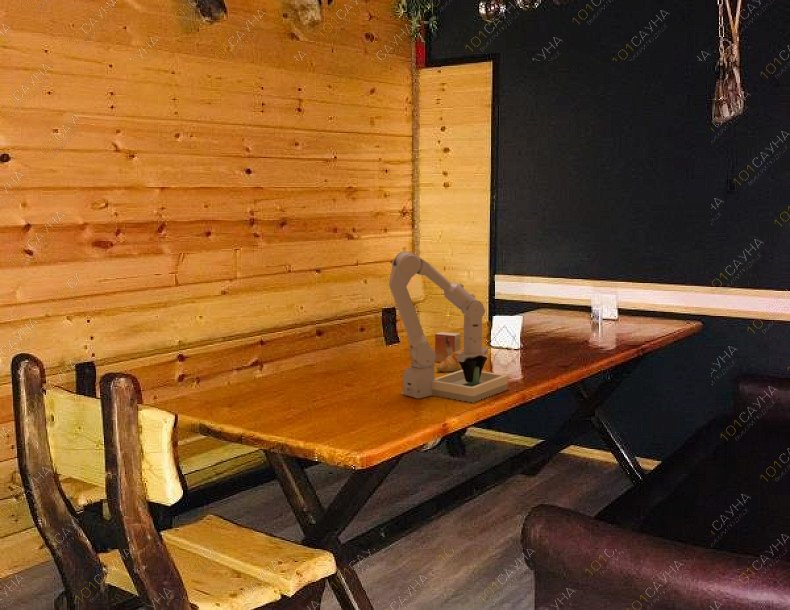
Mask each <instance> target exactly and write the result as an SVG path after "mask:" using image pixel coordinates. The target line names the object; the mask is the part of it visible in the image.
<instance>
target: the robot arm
mask: <svg viewBox="0 0 790 610" xmlns="http://www.w3.org/2000/svg"><path fill="white" fill-rule="evenodd" d="M416 274H417V275H419V276H425V277H426V278H427V279H429V280H430V281H431V282H433V283H434V284H435V285H436V286H438V288H440V289H442V291H443V292H444V293H443V294H444V298H445V299H447V300H448V301H449V302H451V304H452V305H454V306H455V307H456V308H457V309H459V310H460V312H461V313H462V314H463V350H464V351H463V352H462V353H460V354H459V355H457V361H459V364H460V365H461V367H462V370H463V373H464V376H465V380H466V382H472V381H473V374H474V368H475V366H478V367H479V379H480V376H481V372H482V371H483V369H484V365H485V363H486V362H487V360H488V357H487V356H485V355H488V354H489V348H488V347H483V317H484V315H485V313H486V309H485V307H484V304H483V303H482V302H481V301H479V300H478V299H476V298H475V297H476V295H475V294H474V293H470V292H469V291H468V290H466V289H465V288H464V287H465V286H464V284H462V283H458V282H451V281H449V280H448V279H447V278H446V277H445V276H444V275H443V274H442V273H441V272H440V271H438V270H437V268H435V267H434V266H433V265H431V263H429V262H428V261H426V260H424V259H423V258H421V257H419V256H418V255H417V254H415V253H411V252H409V251H407V250H405V251H404V250H403V251H400V252H399V253H398V254H396V256H395V257H394V259H393V260H392V262H391V271H390V277H389V281H388V287H389V289H390V292H391V294H392V298H393V300H394V302H395V305H396V308H397V310H398V313H399V316H400V318H401V321H402V324H403V327H404V329H405V332H406V335H407V338H408V343H409V356H410V357H411V359H412V361H411V363H410V366H409V367H407V368H406V369H404V371H403V374H402V391H401V394H402V395H403V396H408V397H412V398H415V399H423V398H427V397H431V396H433V395H434V394H432V381H434V380H435V378H436V377H435V373H436V372H435V368H436V367H435V363H436V362H435V360H436V353H435V349H434V348H433V347H431V345H430V343H429V341H428V339H427V337H426V335H425V333H424V330H423V328H422V325H421V322H420V319H419V317H418V313H417V312H416V309H415V306H414V304H413V301H412V298H411V295H410V292H409V290H408V287H407V286H408V285H409V283H410V282H411V279H412V278H413V277H414V276H415V275H416Z"/></svg>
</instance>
